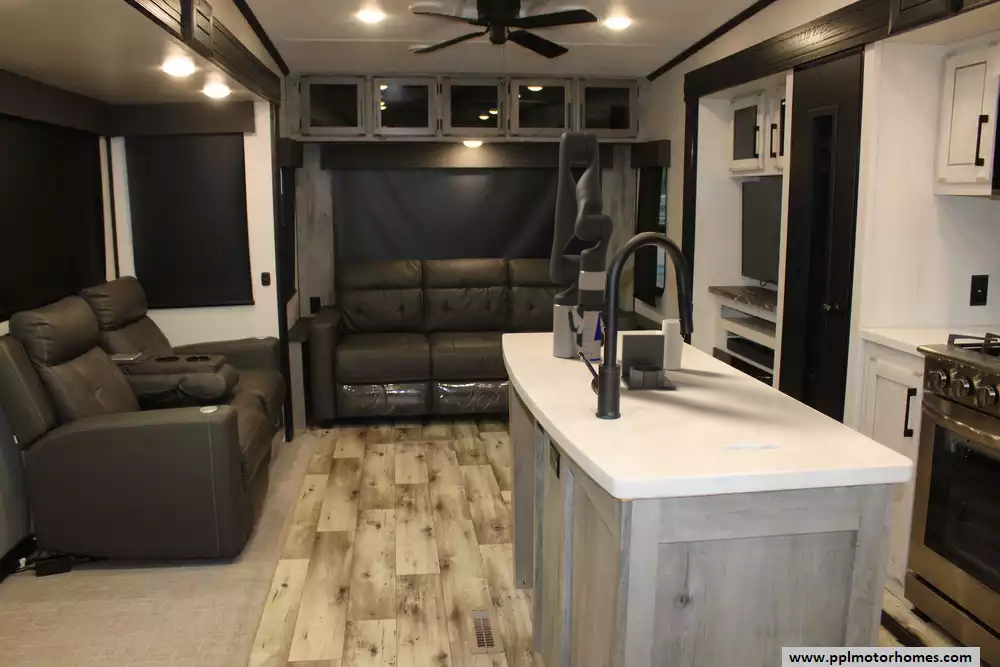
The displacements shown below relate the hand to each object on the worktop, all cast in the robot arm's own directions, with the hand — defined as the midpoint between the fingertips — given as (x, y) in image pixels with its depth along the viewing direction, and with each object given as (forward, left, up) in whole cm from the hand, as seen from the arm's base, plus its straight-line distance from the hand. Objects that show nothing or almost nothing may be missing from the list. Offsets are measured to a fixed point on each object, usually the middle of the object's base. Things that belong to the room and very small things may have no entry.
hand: (590, 346), depth 231 cm
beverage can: (0, 0, -5) cm, 5 cm away
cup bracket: (+1, +16, -11) cm, 19 cm away
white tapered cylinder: (-19, +28, -11) cm, 35 cm away
